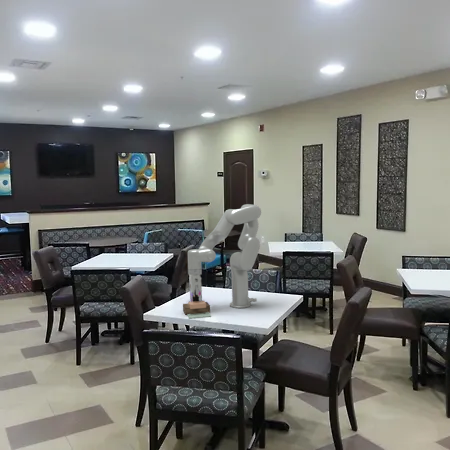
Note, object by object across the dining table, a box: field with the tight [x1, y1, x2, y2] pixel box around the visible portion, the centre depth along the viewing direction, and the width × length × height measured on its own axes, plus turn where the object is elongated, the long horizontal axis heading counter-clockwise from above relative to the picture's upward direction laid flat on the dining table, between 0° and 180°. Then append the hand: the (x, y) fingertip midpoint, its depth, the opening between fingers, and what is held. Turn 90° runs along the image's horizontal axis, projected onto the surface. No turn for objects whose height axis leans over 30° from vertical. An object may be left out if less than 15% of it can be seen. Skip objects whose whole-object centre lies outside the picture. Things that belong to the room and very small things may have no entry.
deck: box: [182, 301, 211, 316], centre depth 266 cm, size 14×9×4 cm, turn 103°
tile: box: [187, 300, 206, 309], centre depth 261 cm, size 9×6×2 cm, turn 102°
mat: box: [186, 312, 212, 320], centre depth 258 cm, size 12×8×1 cm, turn 103°
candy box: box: [188, 275, 203, 302], centre depth 285 cm, size 14×6×16 cm, turn 11°
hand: (195, 303), depth 266 cm, fingers closed
